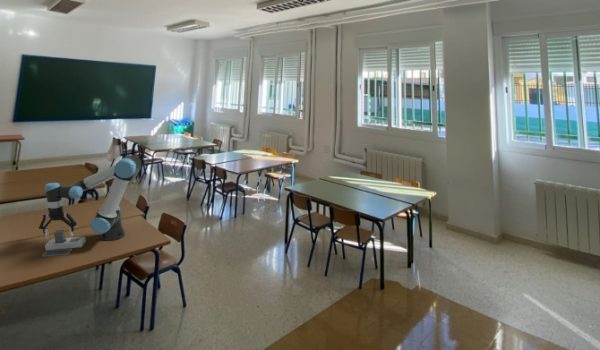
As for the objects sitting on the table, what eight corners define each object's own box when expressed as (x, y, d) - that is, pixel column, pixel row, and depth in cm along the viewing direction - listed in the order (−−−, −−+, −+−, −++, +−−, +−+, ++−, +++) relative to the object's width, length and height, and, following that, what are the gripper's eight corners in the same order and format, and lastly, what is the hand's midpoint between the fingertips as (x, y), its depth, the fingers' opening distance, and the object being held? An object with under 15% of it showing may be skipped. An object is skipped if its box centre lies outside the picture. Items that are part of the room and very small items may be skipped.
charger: (66, 243, 212) (64, 229, 209) (63, 246, 208) (61, 232, 205) (58, 244, 210) (56, 230, 208) (56, 247, 206) (54, 233, 204)
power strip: (85, 241, 217) (85, 235, 216) (81, 246, 209) (81, 241, 208) (51, 244, 211) (50, 238, 210) (45, 250, 203) (44, 244, 202)
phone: (46, 252, 202) (46, 250, 201) (72, 250, 206) (72, 248, 205) (41, 257, 195) (41, 256, 195) (68, 255, 199) (67, 253, 199)
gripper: (79, 203, 210) (83, 232, 215) (34, 206, 202) (39, 236, 207) (76, 207, 203) (80, 237, 208) (29, 210, 195) (34, 241, 200)
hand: (59, 236), depth 207 cm, fingers open, 13 cm apart
